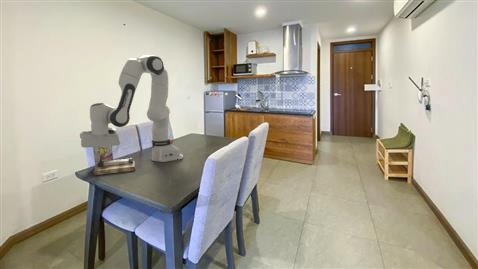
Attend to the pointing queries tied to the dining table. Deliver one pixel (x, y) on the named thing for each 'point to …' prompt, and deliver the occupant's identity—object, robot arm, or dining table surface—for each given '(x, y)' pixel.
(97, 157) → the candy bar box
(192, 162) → the dining table surface
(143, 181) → the dining table surface
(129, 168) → the tong rest
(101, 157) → the brass pin
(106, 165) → the tong arm
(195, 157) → the dining table surface
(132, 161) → the tong frame
